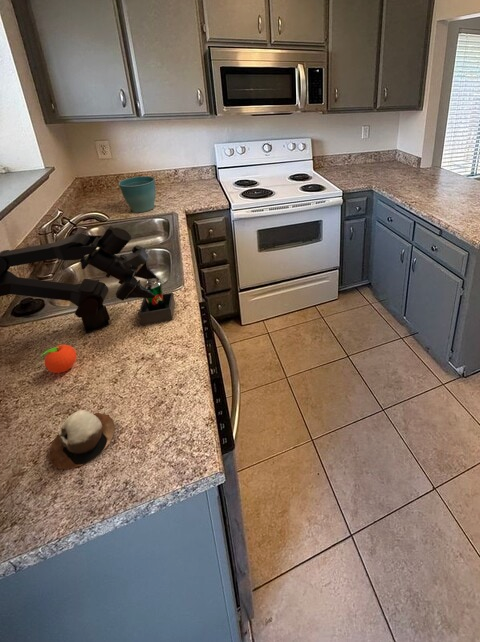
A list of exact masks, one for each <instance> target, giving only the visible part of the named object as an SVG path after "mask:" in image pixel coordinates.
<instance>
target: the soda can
mask: <svg viewBox="0 0 480 642" xmlns="http://www.w3.org/2000/svg"><path fill="white" fill-rule="evenodd" d="M142 286H143V287H144V288H146V289H147V290H149V291H150V292H152V293H153V294H154V295H155V297H154V298H146V301H147V305H148V309H149V311H154V310H160V309H165V308H166V306H165V301H164V296H163V294H164V291H163V287H162V282H161V281H160V279H159V280H158V279H157V278H152V279H149V280H147V279H146V280H145V281H144V282H143V285H142Z"/></svg>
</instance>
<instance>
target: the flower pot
mask: <svg viewBox="0 0 480 642" xmlns="http://www.w3.org/2000/svg"><path fill="white" fill-rule="evenodd" d="M155 180H156V179H155V177H153V176H150V175H149V176H148V175H144V176H143V175H142V176H134V177H129V178H125V179H122V180H120V181H119V182H118V186H119V188H120V190H121V194H122V197H123V199H124V201H125V202H126V204H127V205H128V206H129V208H130V211H131V212H132V213H146V212H149V211H152V210H154V208H155V201H156V195H157V194H156V193H157V190H156V182H155Z"/></svg>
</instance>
